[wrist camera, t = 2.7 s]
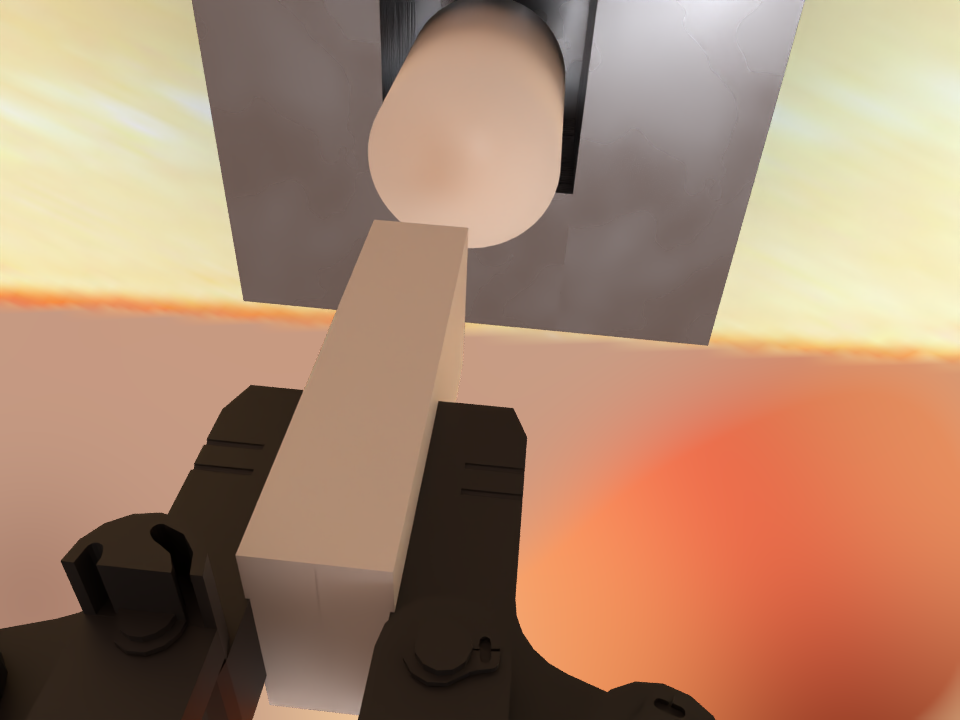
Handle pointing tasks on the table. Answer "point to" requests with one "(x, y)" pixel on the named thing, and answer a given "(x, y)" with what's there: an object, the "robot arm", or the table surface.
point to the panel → (584, 156)
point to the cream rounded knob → (473, 123)
